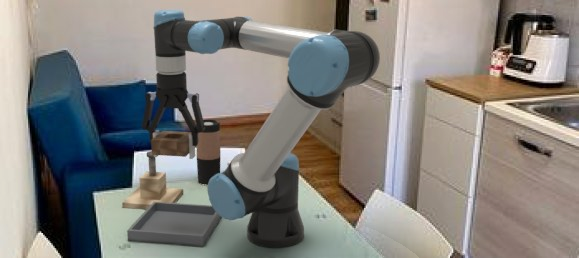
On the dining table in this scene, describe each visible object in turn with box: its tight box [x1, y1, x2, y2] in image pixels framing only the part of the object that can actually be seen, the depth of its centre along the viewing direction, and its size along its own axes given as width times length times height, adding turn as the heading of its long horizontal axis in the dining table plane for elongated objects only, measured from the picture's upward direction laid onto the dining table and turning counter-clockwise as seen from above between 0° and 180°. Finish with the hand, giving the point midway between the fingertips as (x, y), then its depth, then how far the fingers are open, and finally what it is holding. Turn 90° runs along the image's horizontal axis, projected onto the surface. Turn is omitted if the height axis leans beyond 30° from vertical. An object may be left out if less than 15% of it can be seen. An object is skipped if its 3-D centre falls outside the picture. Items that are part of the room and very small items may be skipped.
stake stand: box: [121, 150, 184, 210], centre depth 189 cm, size 14×14×15 cm
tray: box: [126, 202, 222, 248], centre depth 172 cm, size 20×20×3 cm
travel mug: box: [195, 118, 221, 186], centre depth 205 cm, size 8×8×20 cm
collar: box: [150, 130, 197, 158], centre depth 167 cm, size 9×9×4 cm
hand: (174, 156), depth 168 cm, fingers closed on collar, 9 cm apart
